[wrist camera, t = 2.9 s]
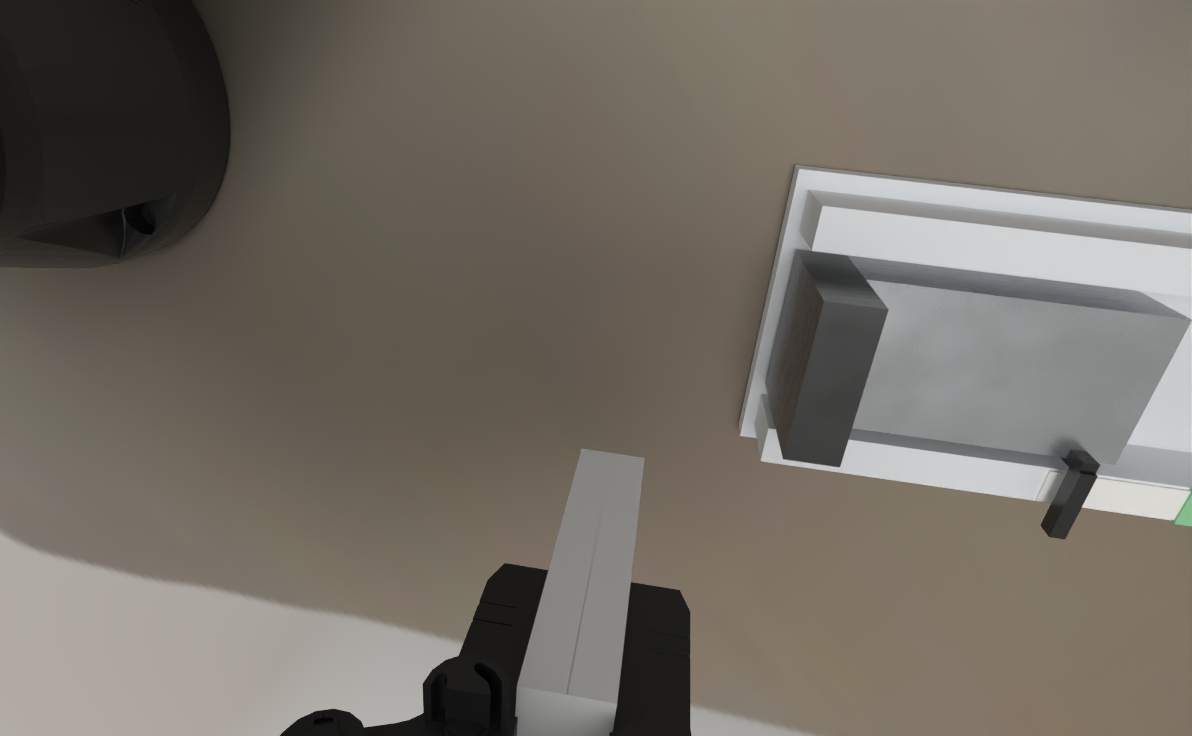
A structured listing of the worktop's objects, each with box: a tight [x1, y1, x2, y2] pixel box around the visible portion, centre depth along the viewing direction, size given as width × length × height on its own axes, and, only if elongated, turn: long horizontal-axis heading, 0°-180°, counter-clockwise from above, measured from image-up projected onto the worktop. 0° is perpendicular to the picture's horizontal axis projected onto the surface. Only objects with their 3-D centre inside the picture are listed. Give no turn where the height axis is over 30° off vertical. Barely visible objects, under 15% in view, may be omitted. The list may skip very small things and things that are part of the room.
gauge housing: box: [739, 165, 1192, 526], centre depth 25 cm, size 24×12×7 cm, turn 85°
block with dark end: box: [765, 249, 1192, 539], centre depth 25 cm, size 13×9×6 cm
